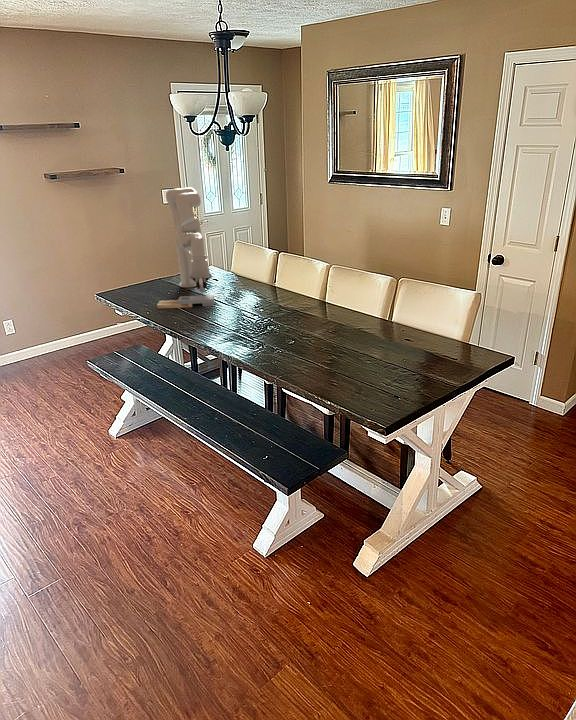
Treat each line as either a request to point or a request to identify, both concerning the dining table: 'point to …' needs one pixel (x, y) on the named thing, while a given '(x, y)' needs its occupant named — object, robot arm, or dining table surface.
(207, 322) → the dining table surface
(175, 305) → the link
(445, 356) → the dining table surface
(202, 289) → the pin
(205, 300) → the link
